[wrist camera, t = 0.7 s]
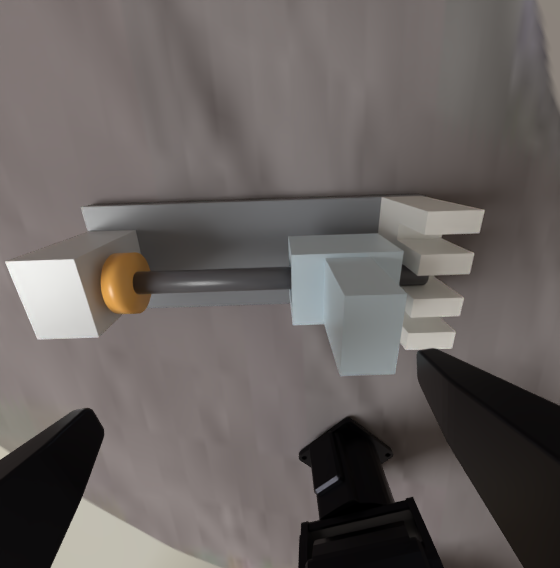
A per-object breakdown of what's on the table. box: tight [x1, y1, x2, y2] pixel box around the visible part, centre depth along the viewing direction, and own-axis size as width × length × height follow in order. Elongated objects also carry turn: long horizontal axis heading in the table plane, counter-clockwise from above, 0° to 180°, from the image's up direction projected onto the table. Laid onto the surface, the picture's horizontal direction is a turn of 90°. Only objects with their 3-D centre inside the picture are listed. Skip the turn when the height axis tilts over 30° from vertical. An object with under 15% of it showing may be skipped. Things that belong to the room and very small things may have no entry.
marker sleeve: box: [288, 233, 407, 376], centre depth 13 cm, size 5×4×8 cm
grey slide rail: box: [5, 194, 485, 350], centre depth 17 cm, size 21×7×7 cm, turn 92°
